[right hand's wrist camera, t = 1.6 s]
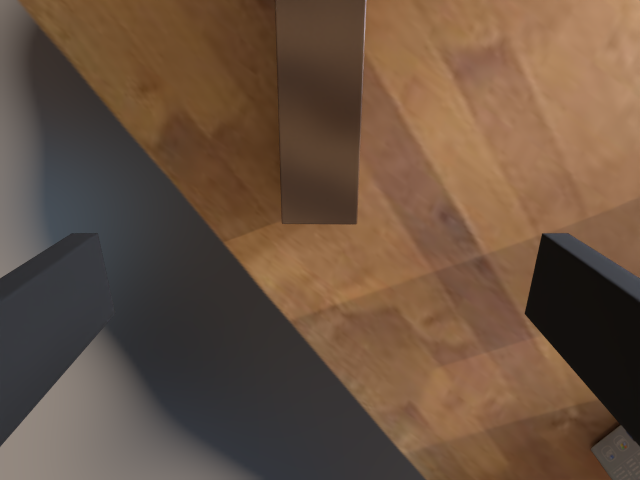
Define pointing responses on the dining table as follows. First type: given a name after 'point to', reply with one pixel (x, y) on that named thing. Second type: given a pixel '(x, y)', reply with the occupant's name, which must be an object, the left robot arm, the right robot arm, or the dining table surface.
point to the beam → (320, 108)
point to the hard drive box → (619, 455)
